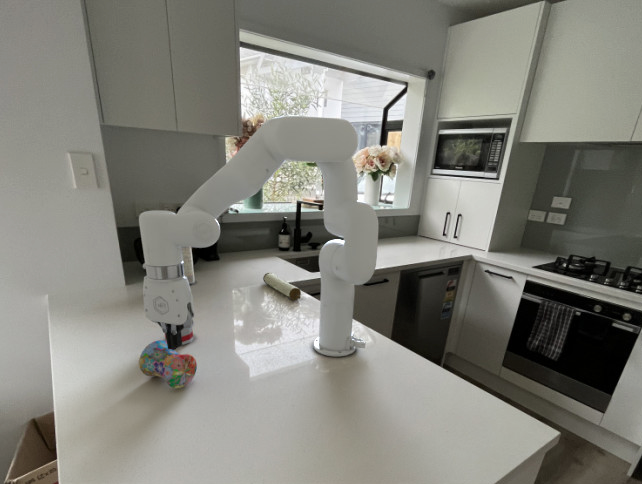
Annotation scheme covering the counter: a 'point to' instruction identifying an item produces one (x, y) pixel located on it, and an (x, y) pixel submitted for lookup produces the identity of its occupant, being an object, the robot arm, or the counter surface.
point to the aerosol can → (188, 264)
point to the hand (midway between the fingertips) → (175, 347)
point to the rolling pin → (282, 286)
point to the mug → (167, 364)
